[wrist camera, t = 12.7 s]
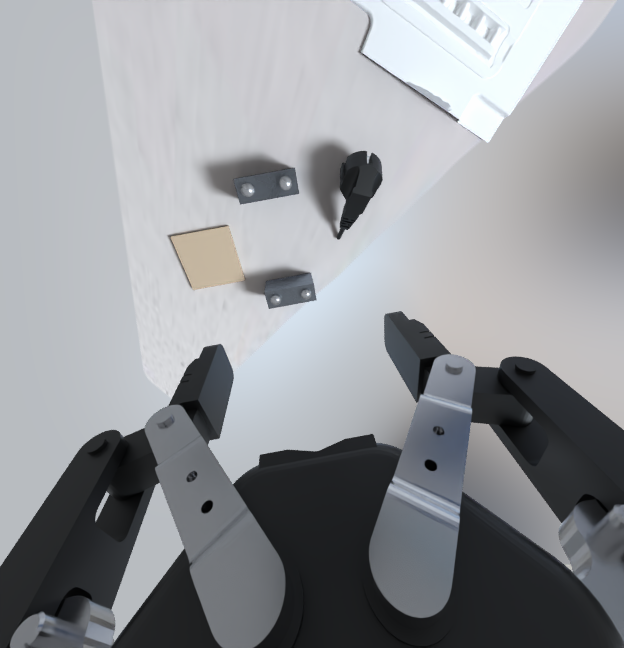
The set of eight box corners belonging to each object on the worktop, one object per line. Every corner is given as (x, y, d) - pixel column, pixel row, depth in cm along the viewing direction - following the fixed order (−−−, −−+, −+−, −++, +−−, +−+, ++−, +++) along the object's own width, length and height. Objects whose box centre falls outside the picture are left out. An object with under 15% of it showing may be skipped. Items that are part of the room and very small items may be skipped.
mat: (171, 236, 40) (170, 236, 40) (228, 225, 40) (227, 226, 40) (194, 288, 45) (193, 290, 44) (245, 279, 45) (244, 280, 44)
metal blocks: (239, 178, 37) (232, 179, 32) (293, 168, 37) (295, 167, 32) (270, 296, 47) (268, 310, 42) (313, 288, 47) (316, 301, 42)
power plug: (321, 238, 42) (348, 172, 31) (323, 203, 45) (349, 131, 34) (354, 245, 43) (391, 184, 32) (354, 210, 46) (388, 143, 35)
